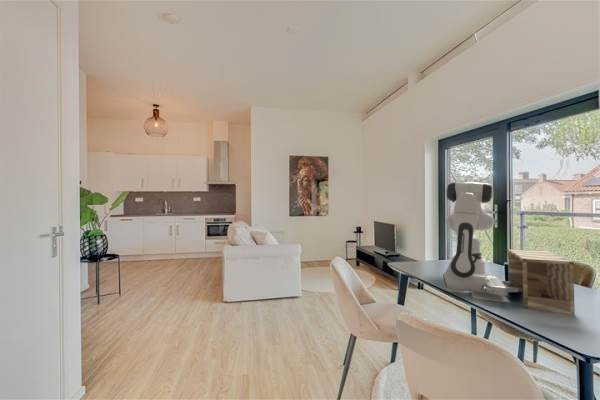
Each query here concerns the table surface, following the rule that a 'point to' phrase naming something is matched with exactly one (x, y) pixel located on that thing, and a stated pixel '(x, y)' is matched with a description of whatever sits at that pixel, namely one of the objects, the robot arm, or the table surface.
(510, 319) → the table surface
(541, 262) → the cubby
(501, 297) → the mat
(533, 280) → the block
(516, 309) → the table surface
